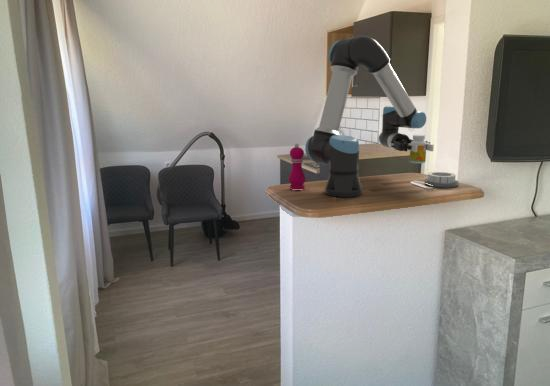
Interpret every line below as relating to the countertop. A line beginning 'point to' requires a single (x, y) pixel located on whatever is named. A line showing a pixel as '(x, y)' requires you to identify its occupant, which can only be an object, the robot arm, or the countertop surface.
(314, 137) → the robot arm
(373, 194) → the countertop surface
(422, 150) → the supplement bottle
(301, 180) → the pepper mill
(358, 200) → the countertop surface
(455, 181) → the bottle holder
